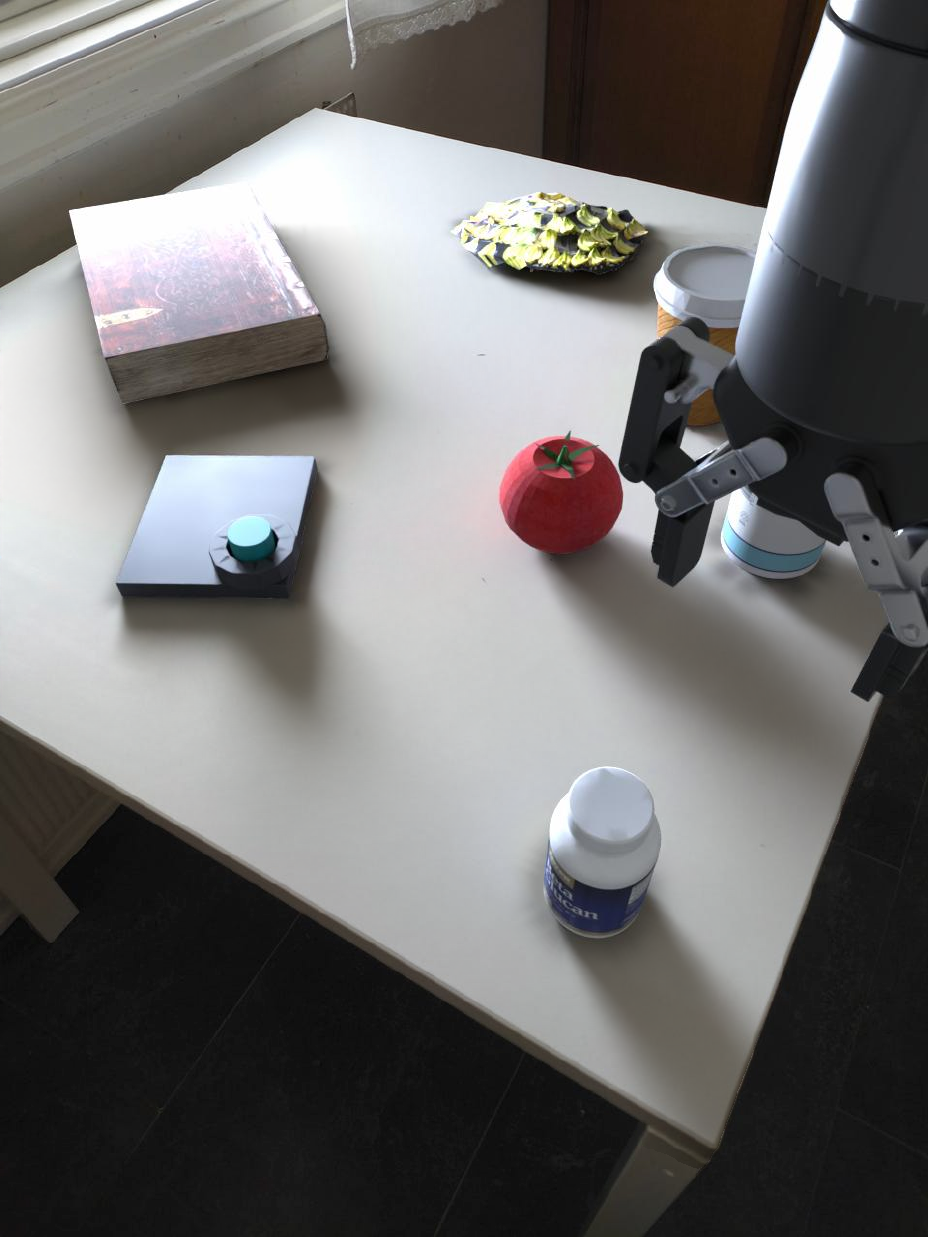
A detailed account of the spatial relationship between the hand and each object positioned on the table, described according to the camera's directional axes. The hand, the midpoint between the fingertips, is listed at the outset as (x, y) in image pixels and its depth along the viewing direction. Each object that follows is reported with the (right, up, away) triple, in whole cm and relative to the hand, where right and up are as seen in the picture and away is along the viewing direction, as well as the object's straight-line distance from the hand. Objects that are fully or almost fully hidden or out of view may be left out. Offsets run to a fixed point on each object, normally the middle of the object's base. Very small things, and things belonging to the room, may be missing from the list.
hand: (769, 625), depth 35 cm
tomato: (-5, +7, +32) cm, 33 cm away
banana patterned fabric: (-3, +40, +60) cm, 72 cm away
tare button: (-27, +5, +27) cm, 39 cm away
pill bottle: (-5, -15, +13) cm, 20 cm away
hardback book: (-38, +31, +54) cm, 73 cm away
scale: (-30, +7, +33) cm, 45 cm away
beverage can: (+10, +5, +30) cm, 32 cm away
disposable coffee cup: (+8, +19, +42) cm, 46 cm away
